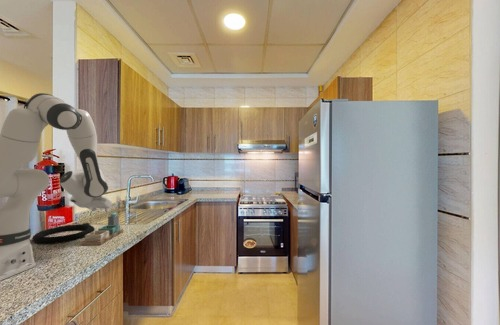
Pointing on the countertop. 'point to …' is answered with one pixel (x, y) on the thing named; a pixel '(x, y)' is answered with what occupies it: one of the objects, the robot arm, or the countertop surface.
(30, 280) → the countertop surface
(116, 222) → the knob
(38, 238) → the cable lock
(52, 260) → the countertop surface
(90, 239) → the brown divided tray
